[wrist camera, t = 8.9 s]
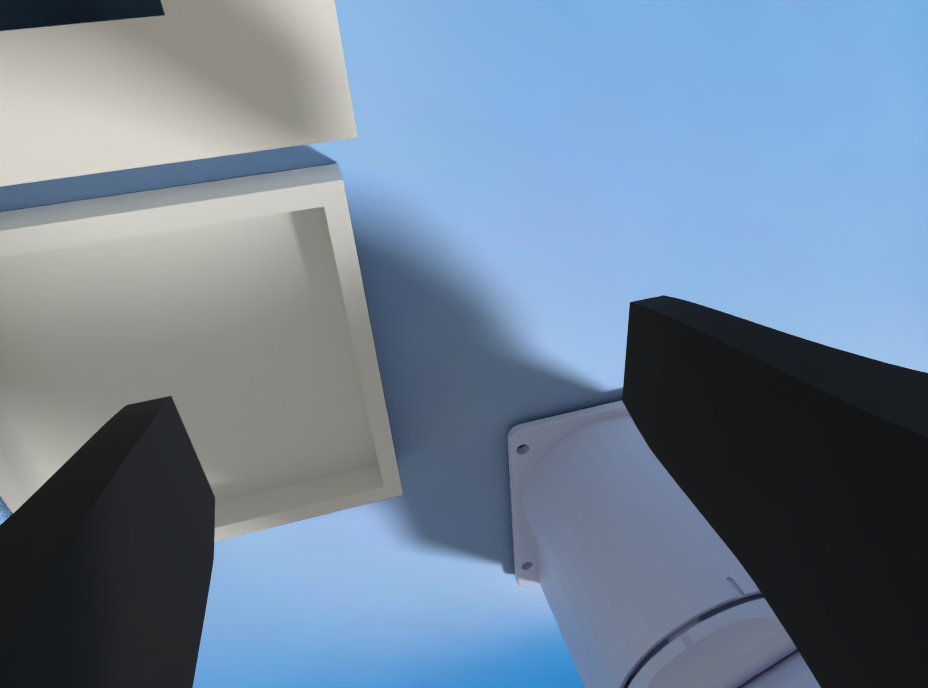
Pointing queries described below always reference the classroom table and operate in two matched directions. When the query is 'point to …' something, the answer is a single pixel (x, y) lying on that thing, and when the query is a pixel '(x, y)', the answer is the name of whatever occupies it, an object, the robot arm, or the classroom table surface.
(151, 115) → the socket block
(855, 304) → the classroom table surface
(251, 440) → the tray
